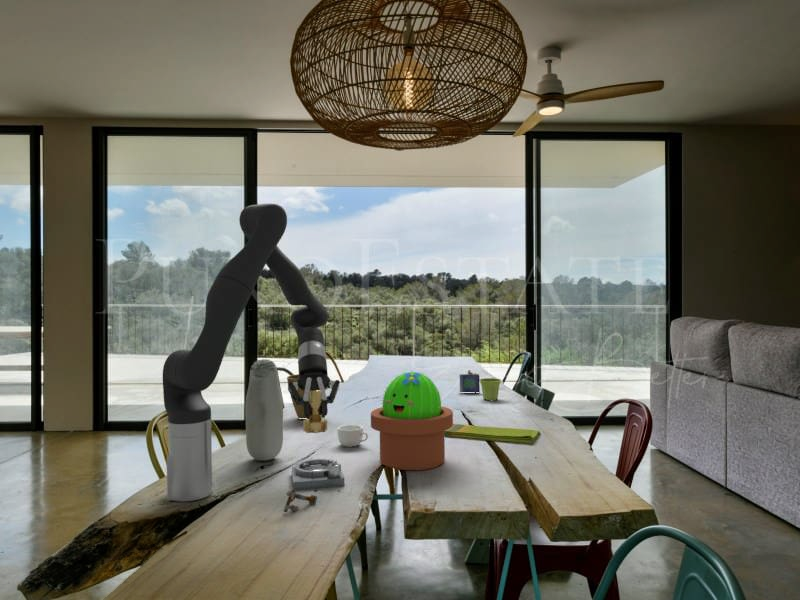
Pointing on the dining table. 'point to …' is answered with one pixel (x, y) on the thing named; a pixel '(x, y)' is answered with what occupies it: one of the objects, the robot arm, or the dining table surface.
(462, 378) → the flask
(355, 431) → the teacup
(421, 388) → the potted cactus
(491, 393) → the plant pot
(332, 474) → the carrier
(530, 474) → the dining table surface
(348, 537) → the dining table surface
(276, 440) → the white rounded cylinder
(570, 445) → the dining table surface
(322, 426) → the gear
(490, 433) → the dish towel
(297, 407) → the plant pot
